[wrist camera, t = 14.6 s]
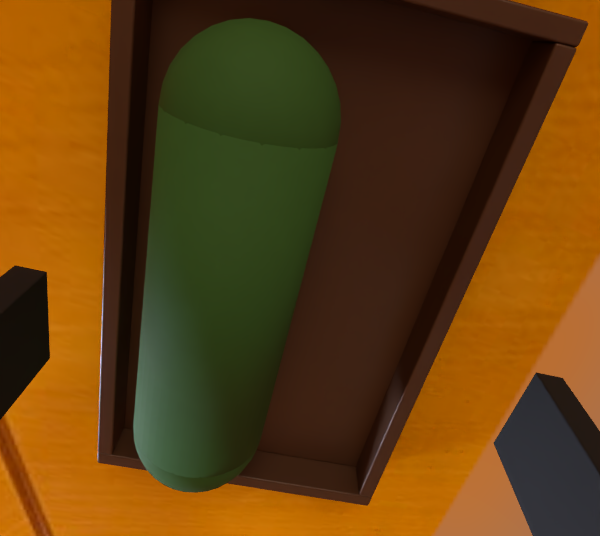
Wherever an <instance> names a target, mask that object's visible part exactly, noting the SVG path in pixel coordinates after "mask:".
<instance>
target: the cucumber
mask: <svg viewBox="0 0 600 536" xmlns="http://www.w3.org/2000/svg"><path fill="white" fill-rule="evenodd" d="M340 126H341V105H340V99H339V95H338V90H337V86H336V83H335V81H334V79H333V76H332V74H331V72H330V70H329V67H328V66H327V65H326V63H325V62H324V60H323V59H322V57H321V56H320V54H319V53H318V52H317V51H316V50H315V49H314V48H313V47H312V46H311V45H310V44H309V43H308V42H307V41H306V40H305V39H304V38H303V37H301V36H299V35H298V34H296V33H295V32H293V31H292V30H290V29H288V28H287V27H284V26H282V25H279V24H276V23H273V22H271V21H267V20H260V19H253V18H244V19H232V20H228V21H225V22H221V23H218V24H215V25H212V26H210V27H208V28H207V29H205V30H203V31H202V32H200V33H198V34H197V35H195V36H194V37H193V38H192V39H191V40H190V41H189V42H187V43H186V44H185V45H184V46H183V47H182V48H181V49H180V51H179V52H178V53H177V55H176V56H175V58H174V59H173V61H172V62H171V64H170V65H169V68H168V70H167V73H166V75H165V78H164V80H163V83H162V87H161V93H160V98H159V105H158V117H157V130H156V143H155V156H154V169H153V181H152V194H151V207H150V220H149V232H148V245H147V258H146V271H145V283H144V296H143V309H142V322H141V334H140V347H139V360H138V373H137V385H136V398H135V411H134V424H133V431H134V442H135V446H136V450H137V453H138V455H139V458H140V460H141V461H142V463H143V465H144V467H145V468H146V469H147V470H148V471H149V473H150V474H151V475H152V476H153V477H154V478H155V479H157V480H158V481H160V482H161V483H162V484H164V485H166V486H168V487H170V488H172V489H175V490H179V491H183V492H204V491H209V490H212V489H216V488H218V487H220V486H222V485H224V484H226V483H228V482H229V481H231V480H233V479H234V478H235V477H236V476H238V475H239V474H240V473H241V472H242V471H243V469H244V468H245V467H246V466H247V465H248V463H249V462H250V461H251V460H252V458H253V456H254V454H255V452H256V450H257V448H258V445H259V443H260V440H261V436H262V432H263V428H264V424H265V421H266V417H267V413H268V409H269V405H270V401H271V398H272V394H273V390H274V386H275V382H276V378H277V375H278V371H279V367H280V363H281V359H282V355H283V352H284V348H285V344H286V340H287V336H288V332H289V329H290V325H291V321H292V317H293V313H294V310H295V306H296V302H297V298H298V294H299V290H300V287H301V283H302V279H303V275H304V271H305V267H306V264H307V260H308V256H309V252H310V248H311V244H312V241H313V237H314V233H315V229H316V225H317V221H318V218H319V214H320V210H321V206H322V202H323V198H324V195H325V191H326V187H327V183H328V179H329V175H330V172H331V168H332V164H333V160H334V156H335V152H336V149H337V145H338V138H339V132H340Z"/></svg>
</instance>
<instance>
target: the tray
mask: <svg viewBox="0 0 600 536" xmlns="http://www.w3.org/2000/svg"><path fill="white" fill-rule="evenodd" d="M244 18H253V19H260V20H267V21H271V22H273V23H276V24H279V25H282V26H284V27H287V28H288V29H290V30H292V31H293V32H295V33H296V34H298V35H299V36H301V37H303V38H304V39H305V40H306V41H307V42H308V43H309V44H310V45H311V46H312V47H313V48H314V49H315V50H316V51H317V52H318V53H319V54H320V56H321V57H322V59H323V60H324V62H325V63H326V65H327V66H328V67H329V70H330V72H331V74H332V76H333V79H334V81H335V83H336V86H337V90H338V95H339V99H340V105H341V126H340V132H339V138H338V145H337V149H336V152H335V156H334V160H333V164H332V168H331V172H330V175H329V179H328V183H327V187H326V191H325V195H324V198H323V202H322V206H321V210H320V214H319V218H318V221H317V225H316V229H315V233H314V237H313V241H312V244H311V248H310V252H309V256H308V260H307V264H306V267H305V271H304V275H303V279H302V283H301V287H300V290H299V294H298V298H297V302H296V306H295V310H294V313H293V317H292V321H291V325H290V329H289V332H288V336H287V340H286V344H285V348H284V352H283V355H282V359H281V363H280V367H279V371H278V375H277V378H276V382H275V386H274V390H273V394H272V398H271V401H270V405H269V409H268V413H267V417H266V421H265V424H264V428H263V432H262V436H261V440H260V443H259V445H258V448H257V450H256V452H255V454H254V456H253V458H252V460H251V461H250V462H249V463H248V465H247V466H246V467H245V468H244V469H243V471H242V472H241V473H240V474H239V475H238V476H236V477H235V478H234V479H233V480H231V481H229V482H228V483H229V484H235V485H242V486H248V487H254V488H260V489H267V490H273V491H279V492H285V493H292V494H298V495H304V496H310V497H317V498H323V499H329V500H335V501H342V502H348V503H354V504H360V505H368V504H369V502H370V500H371V497H372V495H373V493H374V491H375V489H376V487H377V485H378V482H379V480H380V478H381V476H382V474H383V471H384V469H385V467H386V465H387V463H388V460H389V458H390V456H391V454H392V452H393V450H394V447H395V445H396V443H397V441H398V439H399V436H400V434H401V432H402V430H403V428H404V426H405V423H406V421H407V419H408V417H409V415H410V412H411V410H412V408H413V406H414V404H415V401H416V399H417V397H418V395H419V393H420V391H421V388H422V386H423V384H424V382H425V380H426V377H427V375H428V373H429V371H430V369H431V366H432V364H433V362H434V360H435V358H436V356H437V353H438V351H439V349H440V347H441V345H442V342H443V340H444V338H445V336H446V334H447V332H448V329H449V327H450V325H451V323H452V321H453V318H454V316H455V314H456V312H457V310H458V307H459V305H460V303H461V301H462V299H463V297H464V294H465V292H466V290H467V288H468V286H469V283H470V281H471V279H472V277H473V275H474V272H475V270H476V268H477V266H478V264H479V262H480V259H481V257H482V255H483V253H484V251H485V248H486V246H487V244H488V242H489V240H490V238H491V235H492V233H493V231H494V229H495V227H496V224H497V222H498V220H499V218H500V216H501V213H502V211H503V209H504V207H505V205H506V203H507V200H508V198H509V196H510V194H511V192H512V189H513V187H514V185H515V183H516V181H517V179H518V176H519V174H520V172H521V170H522V168H523V165H524V163H525V161H526V159H527V157H528V154H529V152H530V150H531V148H532V146H533V144H534V141H535V139H536V137H537V135H538V133H539V130H540V128H541V126H542V124H543V122H544V119H545V117H546V115H547V113H548V111H549V109H550V106H551V104H552V102H553V100H554V98H555V95H556V93H557V91H558V89H559V87H560V85H561V82H562V80H563V78H564V76H565V74H566V71H567V69H568V67H569V65H570V63H571V60H572V58H573V56H574V54H575V52H576V48H575V47H577V46H578V45H579V43H580V41H581V39H582V36H583V34H584V32H585V30H586V28H587V25H588V23H587V22H586V21H583V20H580V19H576V18H572V17H569V16H565V15H561V14H558V13H554V12H550V11H547V10H543V9H539V8H535V7H532V6H528V5H524V4H521V3H517V2H513V1H510V0H112V2H111V34H110V67H109V100H108V133H107V166H106V199H105V232H104V265H103V298H102V331H101V363H100V396H99V429H98V462H99V463H104V464H110V465H117V466H123V467H129V468H135V469H142V470H147V469H146V468H145V467H144V465H143V463H142V461H141V460H140V458H139V455H138V453H137V450H136V446H135V442H134V431H133V424H134V411H135V398H136V385H137V373H138V360H139V347H140V334H141V322H142V309H143V296H144V283H145V271H146V258H147V245H148V232H149V220H150V207H151V194H152V181H153V169H154V156H155V143H156V130H157V117H158V105H159V98H160V93H161V87H162V83H163V80H164V78H165V75H166V73H167V70H168V68H169V65H170V64H171V62H172V61H173V59H174V58H175V56H176V55H177V53H178V52H179V51H180V49H181V48H182V47H183V46H184V45H185V44H186V43H187V42H189V41H190V40H191V39H192V38H193V37H194V36H195V35H197V34H198V33H200V32H202V31H203V30H205V29H207V28H208V27H210V26H212V25H215V24H218V23H221V22H225V21H228V20H232V19H244Z"/></svg>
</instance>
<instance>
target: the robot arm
mask: <svg viewBox="0 0 600 536" xmlns="http://www.w3.org/2000/svg"><path fill="white" fill-rule="evenodd" d="M49 358H50V351H49V324H48V297H47V272H44V271H39V270H34V269H29V268H25V267H20V266H14V267H12V268H11V269H10V270H9V271H7V272H6V273H5V274H4V275H2V276H1V277H0V419H1V418H2V417H3V416H4V414H5V413H6V412H7V411H8V409H9V408H10V407H11V406H12V404H13V403H14V402H15V401H16V400H17V398H18V397H19V396H20V395H21V393H22V392H23V391H24V390H25V388H26V387H27V386H28V385H29V383H30V382H31V381H32V380H33V378H34V377H35V376H36V375H37V373H38V372H39V371H40V370H41V368H42V367H43V366H44V365H45V363H46V362H47V361H48V360H49ZM494 445H495V447H496V450H497V452H498V455H499V457H500V459H501V462H502V464H503V466H504V469H505V471H506V474H507V476H508V478H509V481H510V483H511V485H512V488H513V490H514V492H515V495H516V497H517V500H518V502H519V504H520V507H521V509H522V511H523V514H524V516H525V518H526V521H527V523H528V525H529V528H530V530H531V533H532V535H533V536H600V431H599V430H598V428H597V427H596V425H595V424H594V422H593V421H592V419H591V418H590V417H589V415H588V414H587V412H586V411H585V410H584V408H583V407H582V405H581V404H580V402H579V401H578V399H577V398H576V397H575V395H574V394H573V392H572V391H571V389H570V388H569V387H568V385H567V384H566V382H565V381H564V379H563V378H560V377H555V376H550V375H545V374H540V373H536V374H535V375H534V377H533V379H532V380H531V382H530V384H529V386H528V387H527V389H526V390H525V392H524V394H523V395H522V397H521V399H520V400H519V402H518V404H517V405H516V407H515V409H514V410H513V412H512V413H511V415H510V417H509V418H508V420H507V422H506V423H505V425H504V427H503V428H502V430H501V432H500V433H499V435H498V437H497V438H496V440H495V442H494Z"/></svg>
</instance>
